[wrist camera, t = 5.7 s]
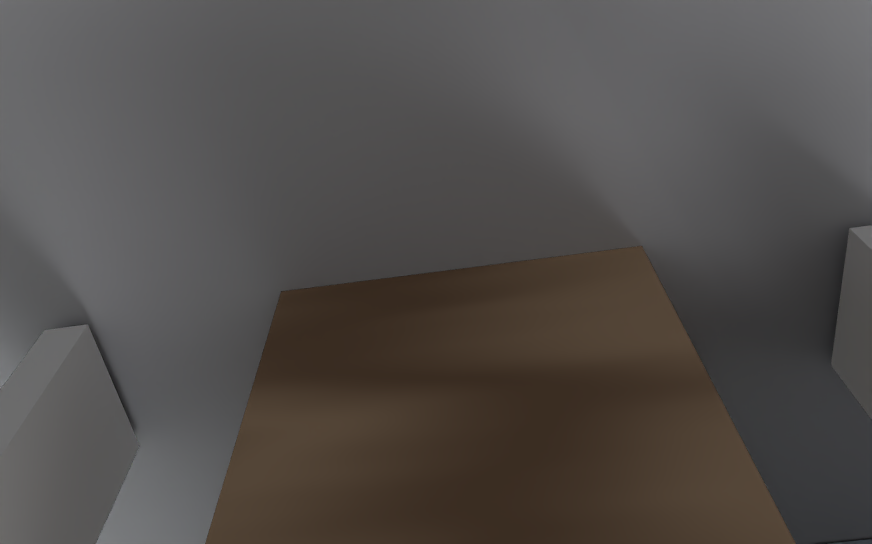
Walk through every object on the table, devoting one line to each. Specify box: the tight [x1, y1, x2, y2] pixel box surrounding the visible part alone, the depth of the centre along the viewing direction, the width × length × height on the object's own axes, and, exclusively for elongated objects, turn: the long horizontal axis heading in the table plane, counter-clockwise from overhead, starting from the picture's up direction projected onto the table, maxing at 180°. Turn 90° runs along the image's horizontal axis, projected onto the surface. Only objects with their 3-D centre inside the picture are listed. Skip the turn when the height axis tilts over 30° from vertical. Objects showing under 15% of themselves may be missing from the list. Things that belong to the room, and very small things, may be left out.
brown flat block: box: [205, 246, 796, 544], centre depth 11 cm, size 6×3×6 cm, turn 98°
